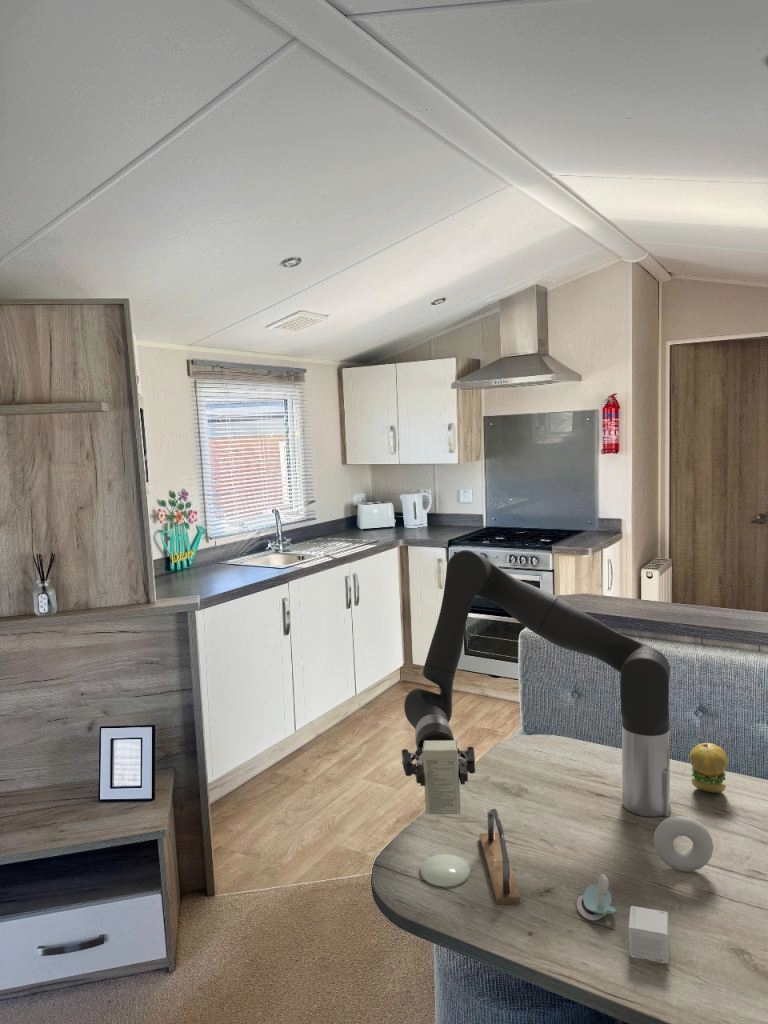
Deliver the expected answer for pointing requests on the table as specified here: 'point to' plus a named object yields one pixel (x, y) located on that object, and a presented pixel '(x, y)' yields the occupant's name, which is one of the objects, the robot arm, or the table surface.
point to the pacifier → (596, 900)
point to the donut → (683, 859)
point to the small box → (649, 934)
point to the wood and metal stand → (499, 862)
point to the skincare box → (441, 777)
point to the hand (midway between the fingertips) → (442, 780)
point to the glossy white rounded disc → (445, 870)
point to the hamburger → (708, 767)
